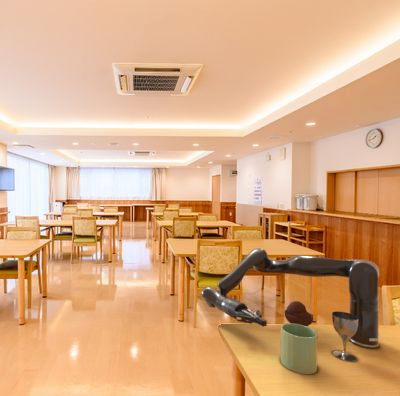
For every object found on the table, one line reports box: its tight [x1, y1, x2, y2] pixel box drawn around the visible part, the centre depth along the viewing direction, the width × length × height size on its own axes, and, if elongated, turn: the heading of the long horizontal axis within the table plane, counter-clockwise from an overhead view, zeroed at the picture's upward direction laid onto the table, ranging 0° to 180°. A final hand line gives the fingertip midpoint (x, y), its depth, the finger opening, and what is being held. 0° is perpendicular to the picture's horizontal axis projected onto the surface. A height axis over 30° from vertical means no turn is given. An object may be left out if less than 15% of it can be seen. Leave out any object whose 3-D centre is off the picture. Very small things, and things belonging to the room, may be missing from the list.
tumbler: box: [279, 322, 318, 375], centre depth 101 cm, size 11×11×12 cm
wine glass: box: [331, 310, 358, 362], centre depth 107 cm, size 8×8×15 cm
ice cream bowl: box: [283, 300, 314, 327], centre depth 122 cm, size 11×11×15 cm
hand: (265, 323), depth 113 cm, fingers closed
